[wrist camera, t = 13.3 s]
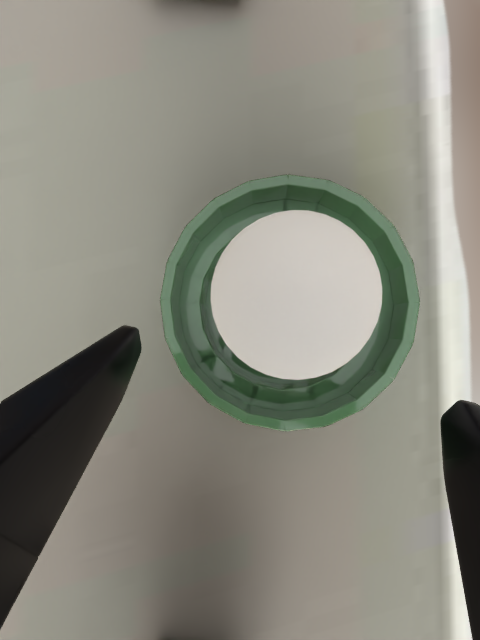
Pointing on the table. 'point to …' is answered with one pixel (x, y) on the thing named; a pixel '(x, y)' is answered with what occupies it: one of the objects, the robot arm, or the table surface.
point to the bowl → (236, 376)
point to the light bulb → (296, 294)
